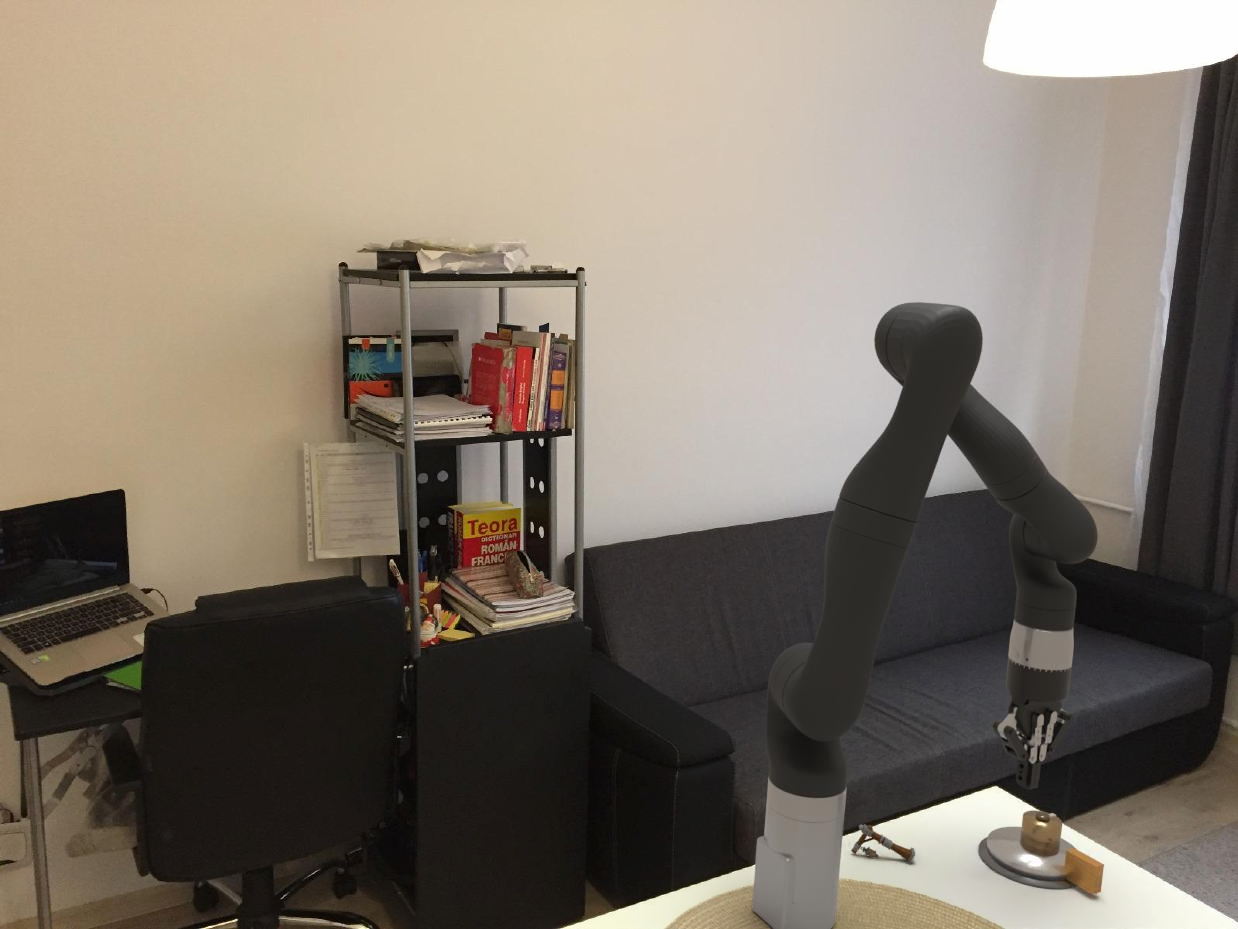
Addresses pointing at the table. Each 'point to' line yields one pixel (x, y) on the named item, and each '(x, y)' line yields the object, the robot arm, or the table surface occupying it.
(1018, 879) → the base plate
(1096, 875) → the silver disc with handle
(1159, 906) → the table surface
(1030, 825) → the cover
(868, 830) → the toy blunderbuss
